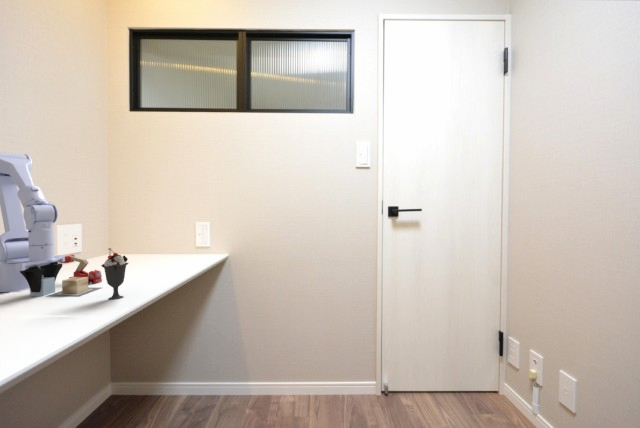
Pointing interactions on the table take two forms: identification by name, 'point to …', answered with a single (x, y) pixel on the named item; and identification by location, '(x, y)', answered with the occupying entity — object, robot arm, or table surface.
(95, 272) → the toy fire truck
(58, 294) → the grey square pad
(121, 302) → the table surface
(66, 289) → the beech block
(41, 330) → the table surface
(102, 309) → the table surface
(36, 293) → the bluegrey block
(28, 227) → the robot arm
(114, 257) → the sundae
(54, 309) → the table surface
